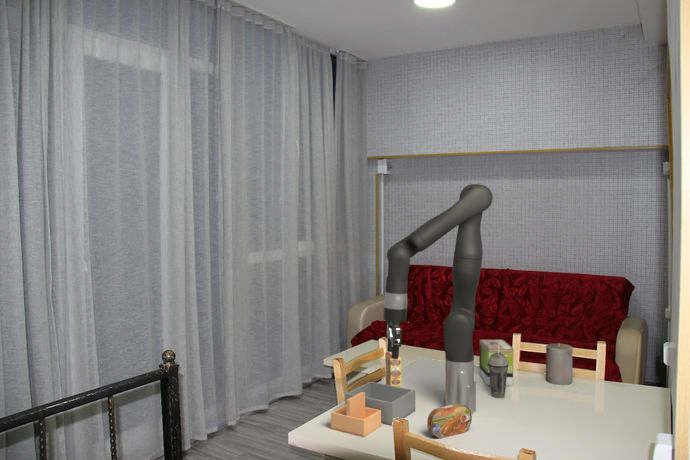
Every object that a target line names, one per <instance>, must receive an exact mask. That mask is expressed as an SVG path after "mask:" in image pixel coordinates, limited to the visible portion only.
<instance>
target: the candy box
mask: <svg viewBox="0 0 690 460" xmlns="http://www.w3.org/2000/svg"><path fill="white" fill-rule="evenodd" d="M391 355H392V352H388V351H386V352H385V355H384V356H385V384H386V385H391V386H396V387H402V358H401V356H400V355H399V358H398V359H392V357H391Z"/></svg>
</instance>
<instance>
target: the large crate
mask: <svg viewBox="0 0 690 460" xmlns="http://www.w3.org/2000/svg"><path fill="white" fill-rule="evenodd" d="M361 392H365V407H368V408H372V409H377V410H381V425H387V426H392V422H393V419H394V418H397V417H399V418H404V419H406V418H407V417H408V416H410V415H411V414H413V413H414V412H416V389H412V388H411V389H410V388H407V387H402V386H401V387H396V386H391V385H386V383H385V384H384V383H380V382H375V381H368V382H365V384H362V385H360V386H358V387H356V388H354V389H352V390H350V391H348V392H346V393H345V394H344V405H346V400H347V399H349V398H351V397H353V396H355V395H357V394H359V393H361ZM392 427H393V426H392Z"/></svg>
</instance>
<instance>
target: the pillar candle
mask: <svg viewBox="0 0 690 460" xmlns="http://www.w3.org/2000/svg"><path fill="white" fill-rule="evenodd" d="M573 347H574V346H571V345H569V344H566V343H565V344H564V343H560V342H558V343H556V342H555V343H548V344H546V346H545V348H546V349H545V382H547V383H549V384H552V385H558V386H564V385H565V386H566V385H570V384H572V383H573V349H574V348H573Z"/></svg>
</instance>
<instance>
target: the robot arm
mask: <svg viewBox="0 0 690 460" xmlns="http://www.w3.org/2000/svg"><path fill="white" fill-rule="evenodd" d="M493 198H494V197H493V192H492V191H491V189H490V188H489V187H488V186H486V185H485V184H479V183H478V184H477V183H474V184H473V183H471V184H468V185H466V186H465V187H463V188H462V190H461V191H460V194H459V198H458V200H457V201H456V202H455V203H454V204H453V205H452V206H450V207H448V208H447V209H446V210H444V211H442V212H441V213H439V214H438V215H435V216H434V217H432V218H430V219H429V220H428V221H426V222H424V223H423V224H421V225H420V226H419V227H417V228H416V229H415V230H414V231H412V232H411V233H410V234H409V235H407V236H405V237H404V238H402V239H400V240H398V241H397V242H396V243H394V244H393V245H392V246H390V247H389V248H388V250H387V252H386V260H387V261H388V262H387V264H388V265H387V266H388V267H387V276H386V280H385V292H384V293H385V295H384V300H383V320H384V321H386V323H387V325H386V335H385V336H386V340H387V349H386V350H387V351H386V352H392V355H391V357H392V359H398V358H399V356H400V355H399V354H400V348H401V346H402V332H403V328H402V327H401V326H400V324H401V323H405V322H406V321H407V316H408V315H407V314H408V313H407V312H408V283H409V282H408V277H409V276H408V275H409V270H410V263H411V258H413V257H414V256H415V255H417V254H418V253H420V252H423V251H425V250H427V249H428V248H429V247H430V246H432V245H434V244H435V243H436V242H437V241H439V240H440V239H441V238H443V237H444V236H445V235H446V234H448V233H449V232H450V231H452V230H454V229H455V228H456V227H458V229H457V232H456V233H457V234H456V238H455V239H456V240H455V247H454V251H453V253H454V254H453V260H452V284H453V296H452V303H451V308H450V312H449V315H447V317H446V318H445V320H444V323H443V349H444V350H443V351H444V355H445V359H444V360H445V362H444V363H445V369H444V370H445V372H444V373H445V381H444V382H445V389H444V390H445V393H444V394H445V401H444V402H445V406H449V405H453V404H461V405H465V406H467V407H468V408H469V409H470V411H471V415H472V414H473V413H474V412H475V411H477V396H476V395H477V382H476V381H474V380H475V378H474V377H475V374H474V373H475V370H474V369H475V368H474V367H475V365H474V362H475V361H474V358H475V353H474V348H473V346H474V345H473V331H474V330H475V327H476V326H475V325H476V318H475V317H476V296H477V291H478V287H479V282H480V277H481V272H482V271H481V270H482V265H483V263H482V262H483V252H484V251H483V243H482V235H481V223H482V216H483V212H485V211H487V210H488V209H489V208H490V206H491V205H492V202H493ZM445 406H444V407H445Z"/></svg>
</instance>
